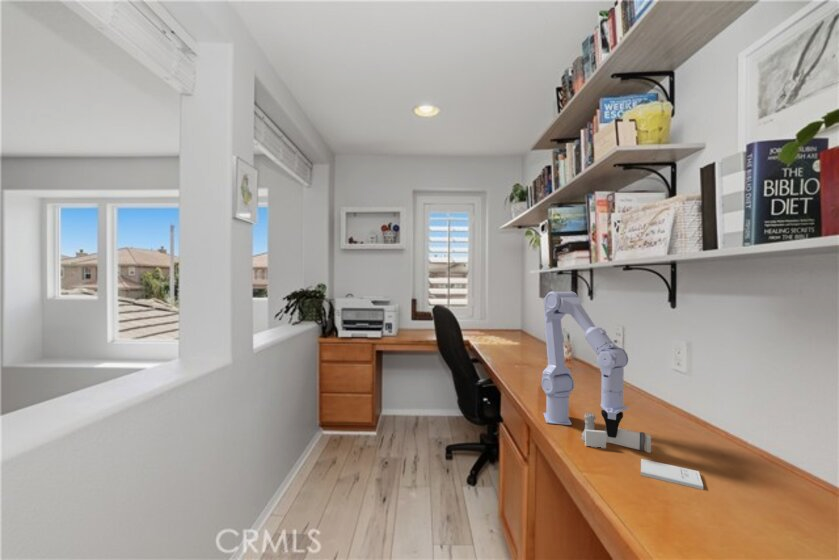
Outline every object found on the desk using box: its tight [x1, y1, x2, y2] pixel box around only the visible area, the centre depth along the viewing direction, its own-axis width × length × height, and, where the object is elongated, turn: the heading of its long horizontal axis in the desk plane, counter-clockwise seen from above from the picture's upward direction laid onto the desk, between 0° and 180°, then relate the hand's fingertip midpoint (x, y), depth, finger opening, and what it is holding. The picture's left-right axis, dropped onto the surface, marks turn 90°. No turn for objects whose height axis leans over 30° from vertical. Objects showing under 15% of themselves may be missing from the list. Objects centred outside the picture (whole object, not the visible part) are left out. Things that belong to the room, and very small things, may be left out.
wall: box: [584, 428, 652, 454], centre depth 109 cm, size 1×17×4 cm, turn 78°
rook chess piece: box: [581, 412, 597, 442], centre depth 114 cm, size 4×4×8 cm
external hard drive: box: [640, 458, 704, 491], centre depth 94 cm, size 2×8×12 cm
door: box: [605, 427, 646, 452], centre depth 110 cm, size 1×10×5 cm, turn 53°
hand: (611, 436), depth 111 cm, fingers closed, pressing on door
